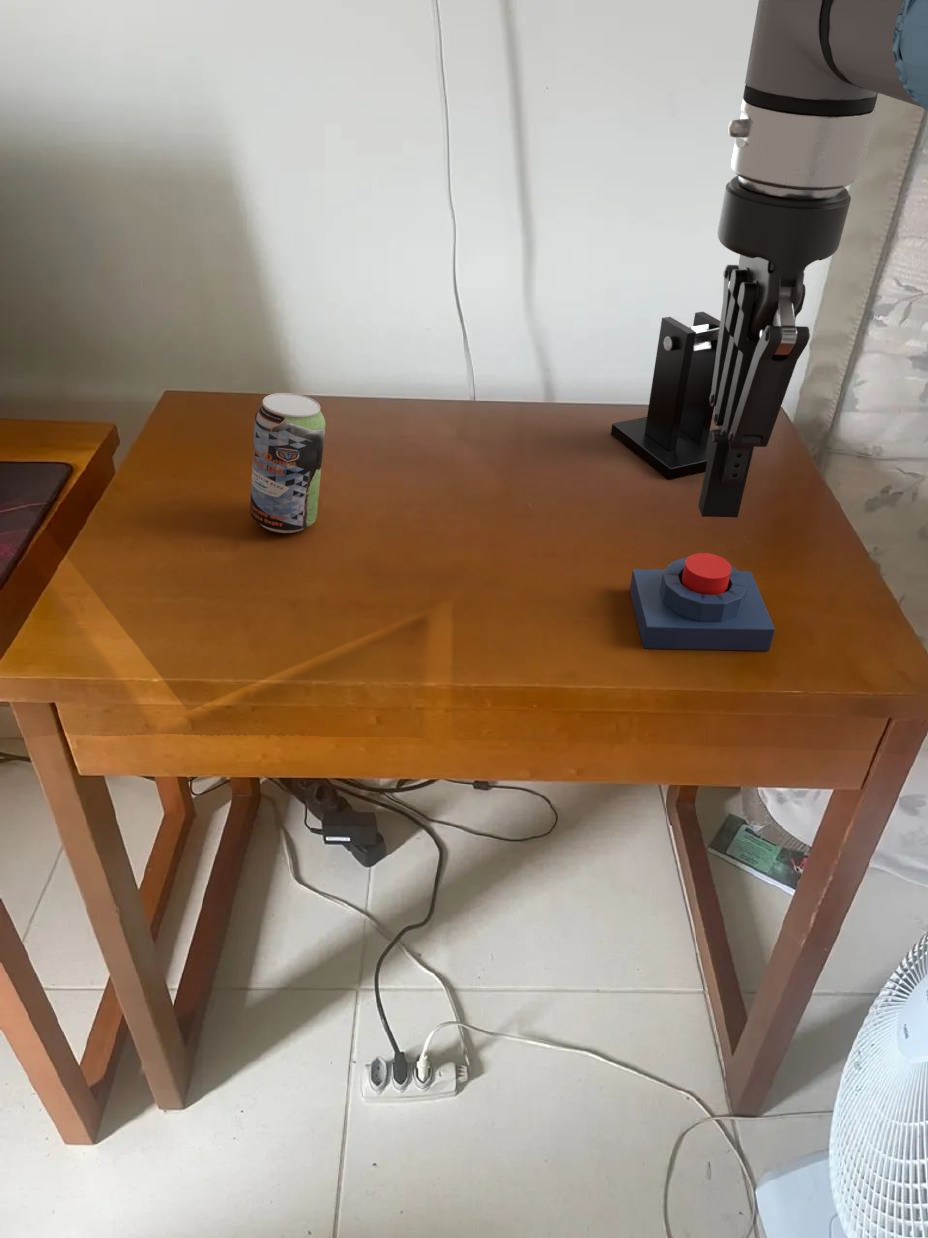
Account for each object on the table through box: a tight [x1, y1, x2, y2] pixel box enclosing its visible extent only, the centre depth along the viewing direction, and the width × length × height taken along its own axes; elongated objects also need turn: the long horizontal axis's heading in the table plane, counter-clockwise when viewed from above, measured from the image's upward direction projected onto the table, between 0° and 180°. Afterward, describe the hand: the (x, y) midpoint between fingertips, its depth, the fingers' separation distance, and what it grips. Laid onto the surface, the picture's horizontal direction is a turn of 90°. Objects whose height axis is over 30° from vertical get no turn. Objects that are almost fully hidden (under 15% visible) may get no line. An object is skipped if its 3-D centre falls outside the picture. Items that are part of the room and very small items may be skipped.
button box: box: [629, 556, 776, 652], centre depth 79 cm, size 10×8×4 cm
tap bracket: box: [610, 311, 720, 480], centre depth 100 cm, size 11×9×14 cm
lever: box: [688, 318, 797, 353], centre depth 93 cm, size 13×5×2 cm
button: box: [682, 552, 732, 595], centre depth 78 cm, size 4×4×2 cm
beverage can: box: [249, 392, 326, 534], centre depth 87 cm, size 6×7×12 cm
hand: (717, 511), depth 75 cm, fingers closed
